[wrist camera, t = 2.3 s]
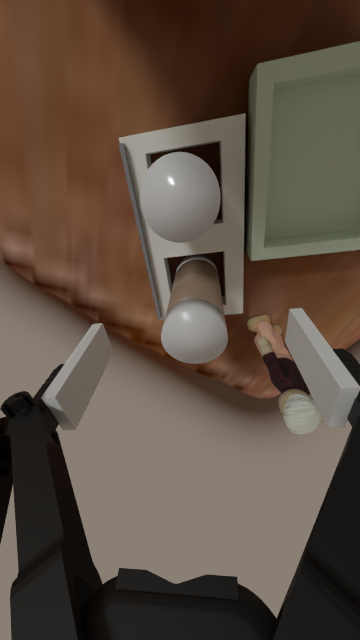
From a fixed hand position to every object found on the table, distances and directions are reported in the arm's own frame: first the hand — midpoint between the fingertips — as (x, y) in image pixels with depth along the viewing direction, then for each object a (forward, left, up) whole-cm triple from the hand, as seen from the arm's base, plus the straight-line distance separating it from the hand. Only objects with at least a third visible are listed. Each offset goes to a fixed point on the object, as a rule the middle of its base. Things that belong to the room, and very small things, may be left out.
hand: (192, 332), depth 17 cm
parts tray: (-8, +11, -10) cm, 17 cm away
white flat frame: (-4, 0, -10) cm, 11 cm away
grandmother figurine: (+8, +8, -10) cm, 15 cm away
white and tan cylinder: (0, 0, -10) cm, 10 cm away
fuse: (-8, 0, -10) cm, 13 cm away
